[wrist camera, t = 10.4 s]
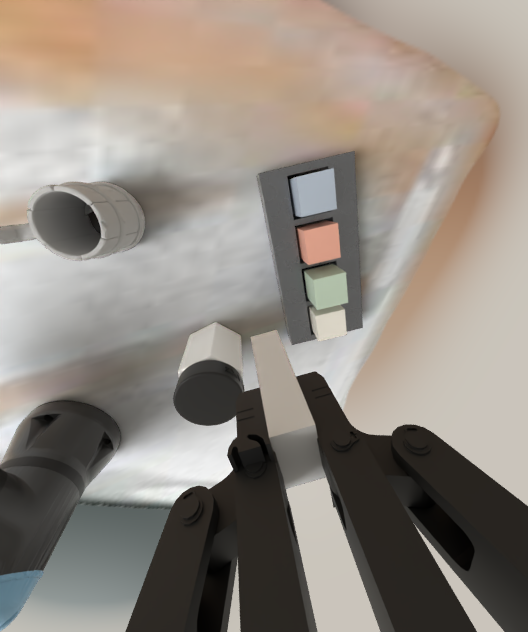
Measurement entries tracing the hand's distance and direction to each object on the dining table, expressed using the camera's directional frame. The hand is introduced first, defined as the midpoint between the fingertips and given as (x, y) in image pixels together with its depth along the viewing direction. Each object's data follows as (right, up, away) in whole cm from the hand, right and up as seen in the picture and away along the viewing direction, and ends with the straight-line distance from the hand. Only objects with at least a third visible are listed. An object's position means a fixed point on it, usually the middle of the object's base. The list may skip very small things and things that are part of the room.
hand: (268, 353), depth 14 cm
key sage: (+7, +7, +20) cm, 23 cm away
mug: (-21, +14, +17) cm, 30 cm away
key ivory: (+8, +3, +24) cm, 25 cm away
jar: (-8, -3, +26) cm, 27 cm away
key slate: (+5, +17, +17) cm, 25 cm away
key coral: (+6, +12, +19) cm, 24 cm away
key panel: (+7, +10, +21) cm, 25 cm away
